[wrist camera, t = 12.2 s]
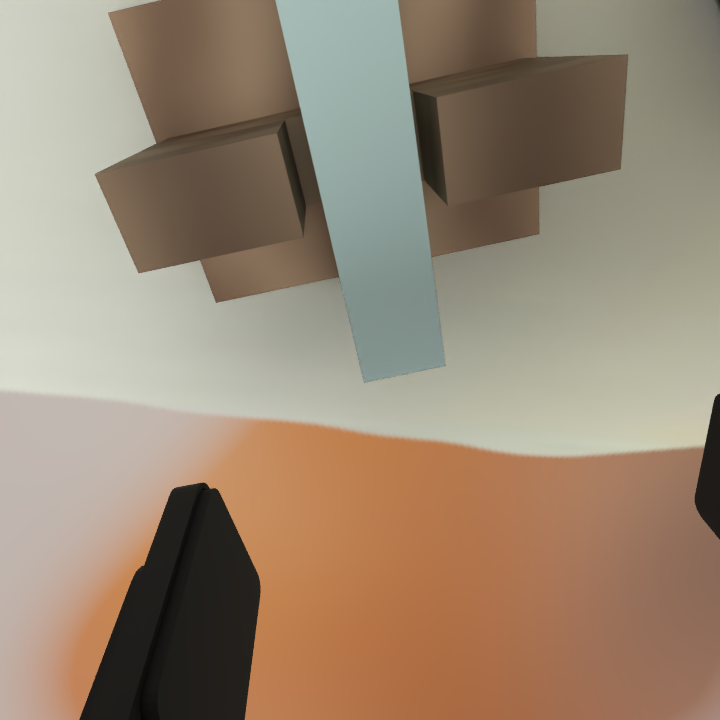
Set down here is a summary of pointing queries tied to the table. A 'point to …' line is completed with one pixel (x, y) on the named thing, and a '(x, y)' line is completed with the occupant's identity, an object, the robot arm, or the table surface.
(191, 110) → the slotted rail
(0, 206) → the table surface
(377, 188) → the slotted crosspiece
